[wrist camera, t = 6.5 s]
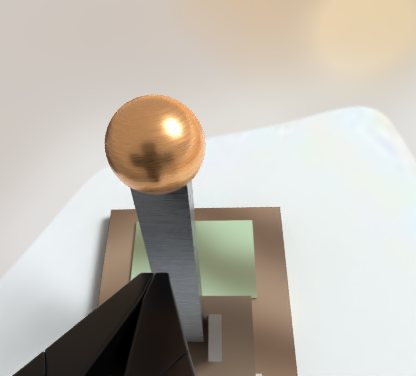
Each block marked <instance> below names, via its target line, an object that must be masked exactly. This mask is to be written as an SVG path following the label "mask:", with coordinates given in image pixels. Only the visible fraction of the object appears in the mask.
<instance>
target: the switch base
mask: <svg viewBox="0 0 416 376" xmlns="http://www.w3.org/2000/svg"><path fill="white" fill-rule="evenodd" d="M194 212H195V223H196V233H197V244H198V254H199V265H200V275H201V286H202V297H203V307H204V318H205V325H204V342H187V345H188V349H189V353H190V356H191V360H192V363H193V367H194V370H195V374H196V376H297V366H296V357H295V347H294V337H293V328H292V318H291V309H290V299H289V289H288V280H287V270H286V261H285V251H284V241H283V232H282V222H281V213H280V207H248V208H194ZM140 273H151V269H150V265H149V261H148V257H147V253H146V249H145V245H144V241H143V237H142V233H141V229H140V225H139V221H138V217H137V213H136V209H127V210H111V216H110V223H109V230H108V237H107V244H106V251H105V258H104V265H103V272H102V279H101V286H100V293H99V300H98V307H99V306H100V305H101V304H102V303H104V302H105V301H106V300H107V299H109V298H110V297H111V296H112V295H114V294H115V293H116V292H117V291H118V290H120V289H121V288H122V287H123V286H125V285H126V284H127V283H128V282H130V281H131V280H132V279H133V278H135V277H136V276H137V275H138V274H140Z"/></svg>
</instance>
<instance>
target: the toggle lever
mask: <svg viewBox="0 0 416 376" xmlns="http://www.w3.org/2000/svg"><path fill="white" fill-rule="evenodd" d="M105 152H106V157H107V159H108V162H109V165H110V167H111V169H112V170H113V172H114V173H115V175H116V176H117V177H118V178H119V179H120V180H121V181H122V182H123V183H124V184H125V185H127V186H128V187H130V189H131V193H132V197H133V201H134V205H135V209H136V213H137V217H138V221H139V225H140V229H141V233H142V237H143V241H144V245H145V249H146V253H147V257H148V261H149V265H150V269H151V273H154V274H155V273H159V272H167V273H169V276H170V279H171V283H172V287H173V291H174V295H175V299H176V302H177V306H178V310H179V314H180V318H181V322H182V326H183V329H184V333H185V337H186V341H187V342H204V325H205V318H204V307H203V297H202V286H201V275H200V265H199V254H198V244H197V233H196V223H195V212H194V202H193V191H192V179H193V178H194V177H195V175H196V174H197V173H198V171H199V169H200V167H201V165H202V163H203V160H204V155H205V137H204V133H203V130H202V127H201V125H200V123H199V121H198V119H197V118H196V116H195V115H194V114H193V113H192V111H191V110H190V109H189V108H187V107H186V106H185V105H184V104H182V103H181V102H179V101H177V100H175V99H173V98H170V97H167V96H162V95H146V96H141V97H138V98H135V99H133V100H131V101H129V102H127V103H126V104H124V105H123V106H122V107H121V108H120V109H119V110H118V111H117V112H116V113H115V114H114V116H113V117H112V119H111V121H110V123H109V125H108V127H107V131H106V135H105Z"/></svg>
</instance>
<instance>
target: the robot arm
mask: <svg viewBox="0 0 416 376" xmlns="http://www.w3.org/2000/svg"><path fill="white" fill-rule="evenodd" d="M13 376H196V374H195V370H194V367H193V363H192V360H191V356H190V353H189V349H188V345H187V341H186V337H185V333H184V329H183V326H182V322H181V318H180V314H179V310H178V306H177V302H176V299H175V295H174V291H173V287H172V283H171V279H170V276H169V273H167V272H159V273H155V274H154V273H140V274H138V275H137V276H136V277H135V278H133V279H132V280H131V281H130V282H128V283H127V284H126V285H125V286H123V287H122V288H121V289H120V290H118V291H117V292H116V293H115V294H114V295H112V296H111V297H110V298H109V299H107V300H106V301H105V302H104V303H102V304H101V305H100V306H99V307H97V308H96V309H95V310H94V311H92V312H91V313H90V314H89V315H88V316H86V317H85V318H84V319H83V320H81V321H80V322H79V323H78V324H76V325H75V326H74V327H73V328H71V329H70V330H69V331H68V332H67V333H65V334H64V335H63V336H62V337H60V338H59V339H58V340H57V341H55V342H54V343H53V344H52V345H50V346H49V347H48V348H47V349H46V350H45V352H42V353H40V354H39V355H38V356H37V357H35V358H34V359H33V360H32V361H30V362H29V363H28V364H27V365H25V366H24V367H23V368H22V369H20V370H19V371H18V372H16V373H15V374H14V375H13Z"/></svg>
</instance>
